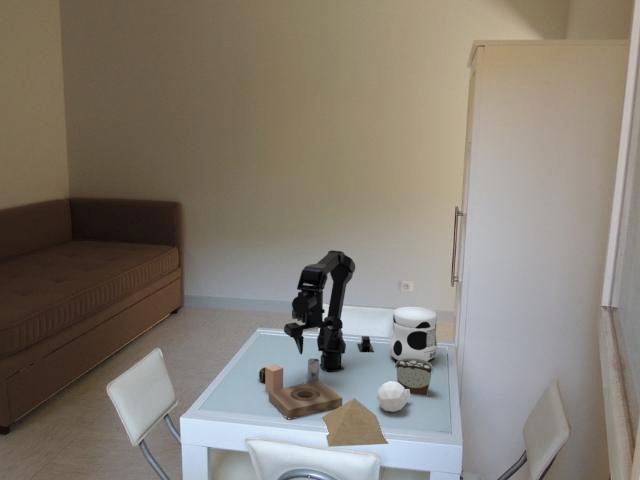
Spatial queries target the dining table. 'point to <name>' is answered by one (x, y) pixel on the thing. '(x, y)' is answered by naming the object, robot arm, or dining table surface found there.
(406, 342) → the milk container
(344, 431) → the model pyramid
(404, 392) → the perfume bottle
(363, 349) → the black stepped block
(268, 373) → the square bar
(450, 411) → the dining table surface
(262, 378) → the tape measure
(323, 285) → the robot arm
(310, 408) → the bore block
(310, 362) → the round dowel
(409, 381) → the food container
